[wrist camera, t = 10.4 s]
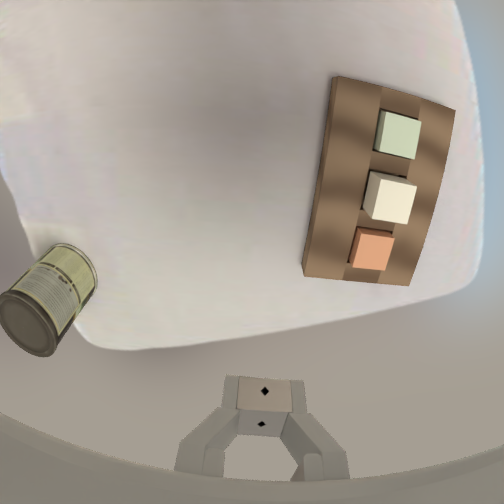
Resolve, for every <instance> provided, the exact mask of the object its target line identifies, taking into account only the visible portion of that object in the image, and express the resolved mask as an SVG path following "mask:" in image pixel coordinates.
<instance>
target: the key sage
mask: <svg viewBox="0 0 504 504" xmlns="http://www.w3.org/2000/svg"><path fill="white" fill-rule="evenodd" d="M420 128H421V121H418V120H414V119H411V118H407V117H404V116H400V115H397V114H393V113H389V112H384V111H379V113H378V119H377V125H376V131H375V137H374V143H373V148H374V149H376V150H378V151H381V152H385V153H389V154H394V155H398V156H402V157H406V158H410V159H415V154H416V149H417V144H418V139H419V134H420Z"/></svg>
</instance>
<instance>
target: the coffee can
mask: <svg viewBox="0 0 504 504" xmlns="http://www.w3.org/2000/svg"><path fill="white" fill-rule="evenodd" d="M96 287H97V276H96V272H95V269H94V267H93V265H92V263H91V262H90V260H89V259H88V258H87V257H86V256H85V254H84V253H83V252H81V251H80V250H79V249H77V248H75V247H73V246H71V245H68V244H57V245H54V246H52V247H51V248H50V249H49V250H48V251H47V252H46V253H45V254H44V255H43V256H42V257H41V258H40V259H39V260H38V261H37V262H35V264H33V265H32V266H31V267H30V268H29V269H28V270H27V271H26V272H25V273H24V274H23V275H22V276H21V277H20V278H19V279H18V280H17V281H16V282H15V283H14V284H13V285H11V286H10V287H9V288H8V290H7V291H6V292H4V293H2V294H1V295H0V324H1V325H2V327H3V329H4V330H5V332H6V333H7V335H8V336H9V337H10V338H11V339H12V340H13V341H14V342H15V343H16V344H17V345H18V346H19V347H20V348H22V349H23V350H25V351H26V352H28V353H30V354H32V355H35V356H38V357H49V356H51V355H52V354H53V353H54V352H55V350H56V348H57V345H58V344H59V342H60V341H61V339H62V338H63V336H64V335H65V333H66V332H67V330H68V329H69V327H70V326H71V324H72V323H73V321H74V320H75V318H76V317H77V316H78V314H79V313H80V311H81V310H82V309H83V307H84V306H85V304H86V303H87V302H88V300H89V299H90V297H91V296H92V295H93V294H94V292H95V290H96Z"/></svg>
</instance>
